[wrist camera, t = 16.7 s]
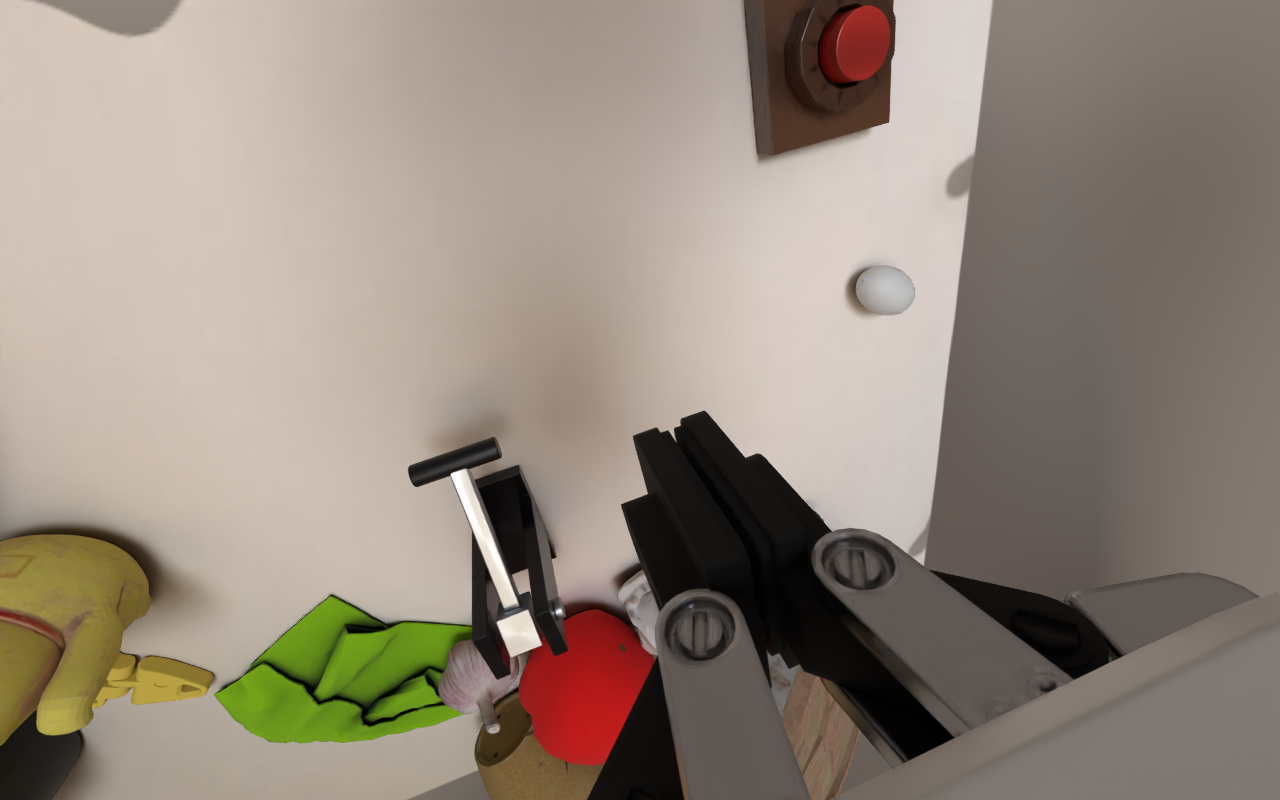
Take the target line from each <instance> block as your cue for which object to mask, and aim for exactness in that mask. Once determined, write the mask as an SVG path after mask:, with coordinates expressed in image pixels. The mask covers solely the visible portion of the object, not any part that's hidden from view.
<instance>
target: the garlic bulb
mask: <svg viewBox="0 0 1280 800" xmlns="http://www.w3.org/2000/svg"><path fill="white" fill-rule="evenodd" d="M510 666H511V674H510V675H508V676H506V677H503V678H501V679H499V680H497V679H496V678H495V676H494V675H493V673H492V672H491V670H490V668H489V667H488V665H487V664H486V662H485V661H484V659H483V657H482V656H481V654H480V653H479V651H478V650H477V649H476V647H475V645H474V643H473V642H472V639H471V640H468V641H460V642H458V643H456V644H455V645H453V646H452V648H451V649H450V651H449V653H448V656H447V668H446V669H445V670H444V672H443V673H442V675H441V677H440V680H439V684H438V691H439V695H440V698H441V699H442V701H443V702H444V703H445V705H447V706H448V707H450V708H452V709H455V710H457V711H458V712H460V713H462V714H470V713H472V712H474V711H476V710H479V709H480V712H481V715H482V718H483V721H484V724H485V727H486V730H487V732H488V733H491V734H493V733H497V732H499V730H500V724H499V721H498V719H497V716H496V712H495V709H494V706H493V703H492V702H493V701H496V700H497V699H499V698H500V697H501V696H502V695H503V694H504V693H505V692H506V691H507V690H508V688H509V686H510V684H511V683H512V682H514V681H515V679H516V677H517V675H518V671H519V662H518V659H517V656H515V657H512V658H510Z"/></svg>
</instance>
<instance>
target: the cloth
mask: <svg viewBox="0 0 1280 800" xmlns="http://www.w3.org/2000/svg"><path fill="white" fill-rule="evenodd" d="M387 628H388V626H386V625H384V624H383V623H381V622H379V621H377V620H374V619H372V618H370V617H369V616H367V615H366V614H364V613H363V612H361V611H360V610H358V609H356V608H354V607H352V606H350V605H348V604H346V603H344V602H342V601H340V600H338V599H336V598H334V597H333V596H330V597H328V598H327V599H326V600H325V601H324V602H322V603H321V604H320V605H319V606H317V607H316V608H315V609H314V610H313V611H311V612H310V613H309V614H308V615H306V616H305V617H304V618H303V619H302V620H301V621H299V622H298V623H297V624H296V625H295V626H294V627H292V628H291V629H290V630H289V631H287V632H286V633H285V634H284V635H283V636H282V637H281V638H280V639H278V640H277V641H276V642H275V643H274V644H273V645H272V646H271V647H270V648H269V649H268V650H267V651H266V652H264V653H263V654H262V655H261V656H260V657H259V658H258V659H257V660H256V661H255V662H253V663H252V664H251V667H250V670H249V672H248V673H247V674H246V675H244V676H243V677H242V678H241V679H240V680H239V681H237V682H235V683H233V684H232V685H230V686H229V687H227V688H226V689H222V690H219V691H218V692H217V693H215V694H214V695H215V697H216V698H217V699H218V701H219V702H220V703H221V704H222V705H223V706H224V708H225V709H226V710H227V711H228V712H229V714H230V715H231V716H232V717H233V719H234V720H236V721H237V722H239V723H240V724H242V725H243V726H244V727H245V728H246V729H247V730H248V731H250V732H251V733H253V734H255V735H257V736H259V737H262V738H264V739H266V740H267V741H269V742H280V743H287V742H292V741H294V742H298V743H310V742H313V741H320V742H327V741H333V742H340V743H345V742H353V741H362V740H372V739H375V738H379V737H382V736H386V735H390V734H399V733H403V732H407V731H410V730H413V729H415V728H422V727H428V726H432V725H436V724H438V723H441V722H443V721H446V720H448V719H451V718H454V717H457V716H460V715H463V714H462V713H460V712H458V711H457V710H455V709H452V708H450V707H448V706H447V705H445V703H444V702H443V701H442V699H441V698H440V695H437V694H436V692H438V684H439V680H440V677H441V675H442V673H443V672H444V670H445V669H446V668H447V656H448V653H449V651H450V649H451V648H452V646H453V645H455V644H456V643H458V642H460V641H468V640H471V639H472V627H467V626H455V625H444V624H429V623H413V622H402V623H400V624H398V625H396V626H393V627H391V628H389V629H387ZM386 629H387V630H386Z"/></svg>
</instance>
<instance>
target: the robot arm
mask: <svg viewBox="0 0 1280 800" xmlns="http://www.w3.org/2000/svg"><path fill="white" fill-rule="evenodd" d="M674 433H675V438H676V441H675V440H674V438H673V437H672V435H671V434H670V432H669V431H665V432H662V433H660V431H659V430H658V428H653V429H651V430H648V431H645V432H642V433H639V434H636V435H634V436H633V440H634V444H635V448H636V451H637V455H638V459H639V462H640V466H641V469H642V473H643V477H644V480H645V484H646V488H647V491H648V494H647V495H645V496H642V497H639V498H637V499H634V500H631V501H629V502H626V503H623V504H621V506H622V510H623V513H624V517H625V520H626V523H627V526H628V529H629V532H630V535H631V538H632V541H633V544H634V547H635V550H636V553H637V555H638V558H639V561H640V563H641V566H642V569H643V571H644V574H645V576H646V579H647V581H648V584H649V586H650V589H651V591H652V594H653V597H654V599H655V602H656V604H657V607H658V609H659V612H660V613H659V614H658V617H657V620H656V624H655V643H656V648H657V654H658V655H657V657H656V660H655V662H654V664H653V666H652V668H651V670H650V672H649V674H648V676H647V678H646V680H645V682H644V684H643V686H642V688H641V690H640V692H639V694H638V696H637V698H636V700H635V702H634V704H633V707H632V709H631V711H630V713H629V715H628V717H627V719H626V721H625V723H624V725H623V727H622V729H621V731H620V733H619V735H618V737H617V739H616V741H615V743H614V745H613V747H612V749H611V751H610V754H609V756H608V758H607V760H606V762H605V764H604V766H603V768H602V770H601V772H600V774H599V776H598V778H597V780H596V782H595V784H594V786H593V788H592V790H591V792H590V794H589V796H588V798H587V800H811V797H810V794H809V792H808V789H807V786H806V784H805V781H804V778H803V776H802V773H801V770H800V767H799V765H798V762H797V759H796V757H795V754H794V751H793V748H792V746H791V743H790V740H789V738H788V735H787V732H786V729H785V727H784V724H783V721H782V719H781V716H780V713H779V711H778V708H777V705H776V702H775V700H774V697H773V694H772V692H771V688H772V683H771V676H770V669H769V662H768V655H767V651H768V653H769V654H770V655H771V656H774V655H776V654H780V655H781V657H782V659H783V660H784V662H785V664H786V665H787V667H788V669H791V668H793V667H795V666H797V665H800V666H801V667H802V669H803V671H804V672H806V673H809V674H812V675H815V676H818V677H820V679H821V682H822V683H823V685H824V686H825V688H826V690H827V691H828V692H829V694H830V695H831V696H832V697H833V698H834V700H835V701H836V702H837V703H838V704H839V706H840V707H841V708H842V709H843V710H844V712H845V713H846V714H847V715H848V716H849V718H850V719H851V720H852V721H853V722H854V724H855V725H856V726H857V727H858V728H859V730H860V731H861V732H862V733H863V734H864V735H865V737H866V738H867V739H868V740H869V741H870V743H871V744H872V745H873V746H874V747H875V749H876V750H877V751H878V752H879V753H880V755H881V756H882V757H883V758H884V759H885V760H886V762H887V763H888V764H889V765H890V767H891V768H892V769H891V770H889V771H887V772H885V773H883V774H881V775H879V776H877V777H875V778H873V779H871V780H869V781H867V782H865V783H863V784H861V785H859V786H857V787H855V788H853V789H851V790H849V791H847V792H845V793H843V794H841V795H839V796H837V797H835V798H833V799H831V800H1280V592H1277V593H1274V594H1270V595H1266V596H1262V597H1259V596H1258V595H1256V594H1254V593H1253V592H1251V591H1250V590H1248V589H1246V588H1245V587H1243V586H1241V585H1239V584H1236V583H1233V582H1231V581H1228V580H1226V579H1223V578H1221V577H1216V576H1212V575H1207V574H1202V573H1178V574H1172V575H1166V576H1160V577H1155V578H1149V579H1143V580H1137V581H1132V582H1126V583H1120V584H1114V585H1109V586H1103V587H1097V588H1092V589H1086V590H1080V591H1074V592H1068V593H1066V594H1065V597H1064V600H1056V599H1053V598H1050V597H1047V596H1044V595H1041V594H1036V593H1032V592H1027V591H1023V590H1018V589H1014V588H1009V587H1005V586H1000V585H996V584H991V583H987V582H982V581H978V580H973V579H969V578H964V577H960V576H955V575H950V574H946V573H942V572H937V571H933V570H928V569H927V568H925V567H924V566H923V565H921V564H920V563H919V562H917V561H916V560H915V559H913V558H912V557H911V556H909V555H908V554H907V553H905V552H904V551H903V550H901V549H900V548H899V547H897V546H896V545H895V544H894V543H892V542H891V541H889V540H888V539H886V538H884V537H882V536H881V535H879V534H877V533H874V532H871V531H867V530H864V529H854V528H848V529H840V530H835V531H833V532H832V531H831V530H830V529H829V528H828V527H827V525H826V524H825V523H824V522H823V521H822V520H821V519H820V518H819V517H818V516H817V514H816V513H815V512H814V511H813V510H812V509H811V508H810V507H809V506H808V504H807V503H806V502H805V501H804V500H803V499H802V498H801V497H800V496H799V495H798V493H797V492H796V491H795V490H794V489H793V488H792V487H791V486H790V485H789V484H788V482H787V481H786V480H785V479H784V478H783V477H782V476H781V475H780V474H779V473H778V471H777V470H776V469H775V468H774V467H773V466H772V465H771V464H770V463H769V462H768V460H767V459H766V458H765V457H763V456H762V455H761V454H758V453H757V454H755V455H752V456H749V457H747V458H745V457H744V456H743V455H742V453H741V452H740V451H739V450H738V449H737V447H736V446H735V445H734V444H733V443H732V442H731V440H730V439H729V438H728V437H727V436H726V434H725V433H724V432H723V431H722V430H721V429H720V427H719V426H718V425H717V424H716V423H715V421H714V420H713V419H712V418H711V417H710V416H709V414H708V413H707V412H706V411H701V412H699V413H696V414H693V415H690V416H687V417H684V418H682V419H681V426H679V427H676V428H674ZM676 442H677V443H676Z"/></svg>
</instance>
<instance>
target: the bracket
mask: <svg viewBox="0 0 1280 800" xmlns="http://www.w3.org/2000/svg"><path fill="white" fill-rule="evenodd" d="M475 483H476V485H477V488H478V490H479V493H480V495H481V498H482V500H483V503H484V506H485V508H486V511H487V513H488V516H489V518H490V521H491V524H492V526H493V529H494V531H495V534H496V536H497V539H498V541H499V544H500V547H501V549H502V552H503V554H504V557H505V559H506V562H507V564H508V567H509V570H510V572H511V575H512V574H514V573H517V572H520V571H522V570H525V569H528V572H529V580H530V588H531V596H532V603H533V611H534V617H535V619H536V621H537V623H538V625H539V627H540V629H541V631H542V633H543V635H544V637H545V639H546V640H547V642H548V644H549V646H550V648H551V650H552V652H553V654H554V656H557V655H560V654H562V653H565V652H567V651H568V644H567V639H566V634H565V628H564V623H563V618H565V617H566V614H565V609H564V606H563V603H562V600H561V598H560V597H559V596H558V591H557V586H556V580H555V575H554V570H553V564H552V559H554V558H556V552H555V548H554V545H553V543H552V541H551V538H550V536H549V534H548V532H547V529H546V527H545V525H544V522H543V520H542V518H541V515H540V513H539V511H538V508H537V506H536V504H535V501H534V499H533V497H532V494H531V492H530V490H529V487H528V485H527V483H526V480H525V478H524V476H523V473H522V471H521V469H520V466H519V465H517V466H514V467H511V468H508V469H505V470H503V471H500V472H497V473H494V474H491V475H488V476H485V477H483V478H480V479H477V480H475ZM499 603H500V599H499V597H498V594H497V592H496V589H495V587H494V584H493V582H492V579H491V577H490V574H489V572H488V569H487V567H486V564H485V562H484V559H483V557H482V554H481V552H480V549H479V547H478V544H477V542H476V539H475V537H474V534H473V532H472V642H473V643H474V645H475V647H476V649H477V650H478V651H479V653H480V654H481V656H482V657H483V659H484V661H485V662H486V664H487V665H488V667H489V668H490V670H491V672H492V673H493V675H494V676H495V678H496V679H497V680H499V679H501V678H503V677H506V676H508V675H510V674H511V666H510V656H509V653H508V651H507V648H506V646H505V643H504V641H503V638H502V636H501V633H500V631H499V628H498V626H497V623H496V619H497V612H498V606H499Z"/></svg>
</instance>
